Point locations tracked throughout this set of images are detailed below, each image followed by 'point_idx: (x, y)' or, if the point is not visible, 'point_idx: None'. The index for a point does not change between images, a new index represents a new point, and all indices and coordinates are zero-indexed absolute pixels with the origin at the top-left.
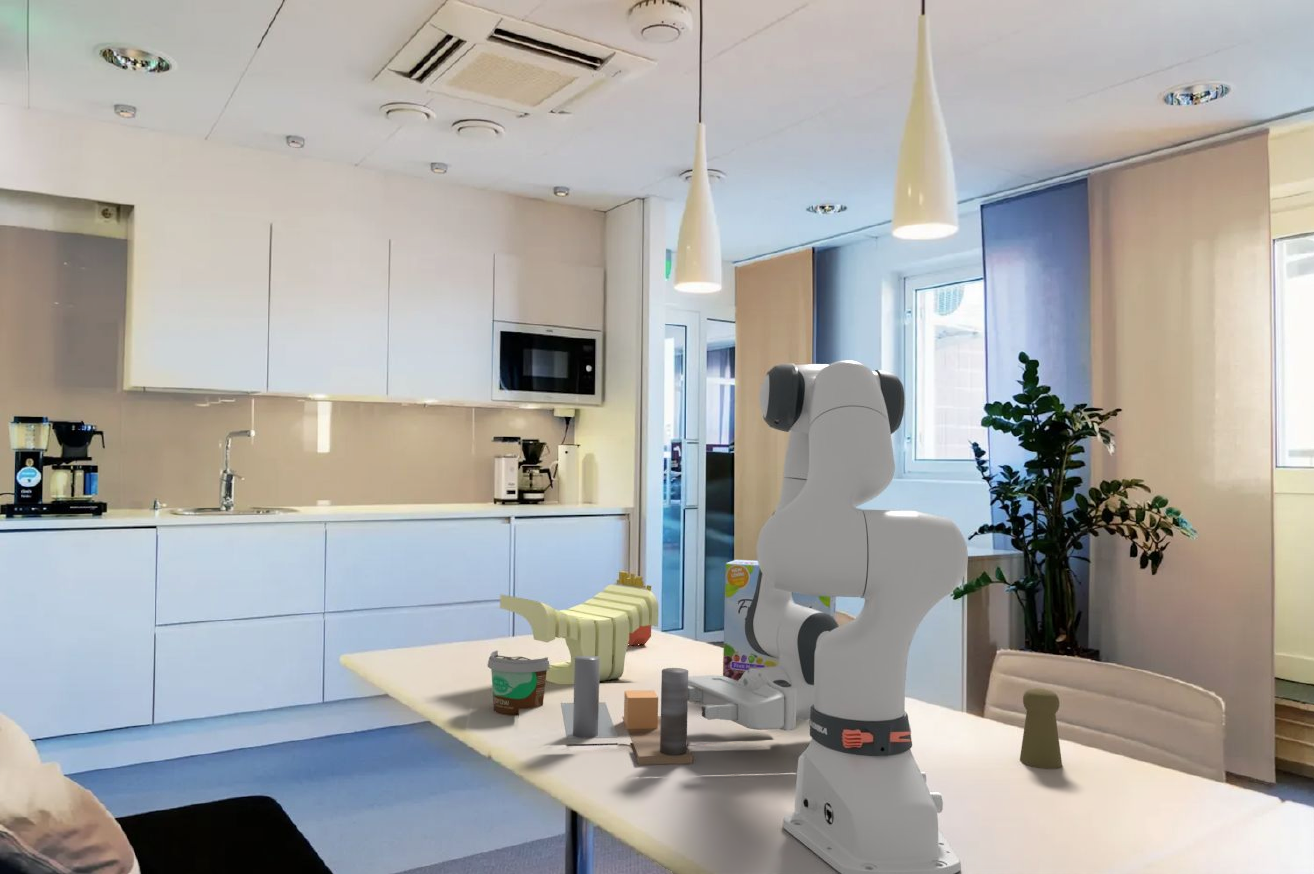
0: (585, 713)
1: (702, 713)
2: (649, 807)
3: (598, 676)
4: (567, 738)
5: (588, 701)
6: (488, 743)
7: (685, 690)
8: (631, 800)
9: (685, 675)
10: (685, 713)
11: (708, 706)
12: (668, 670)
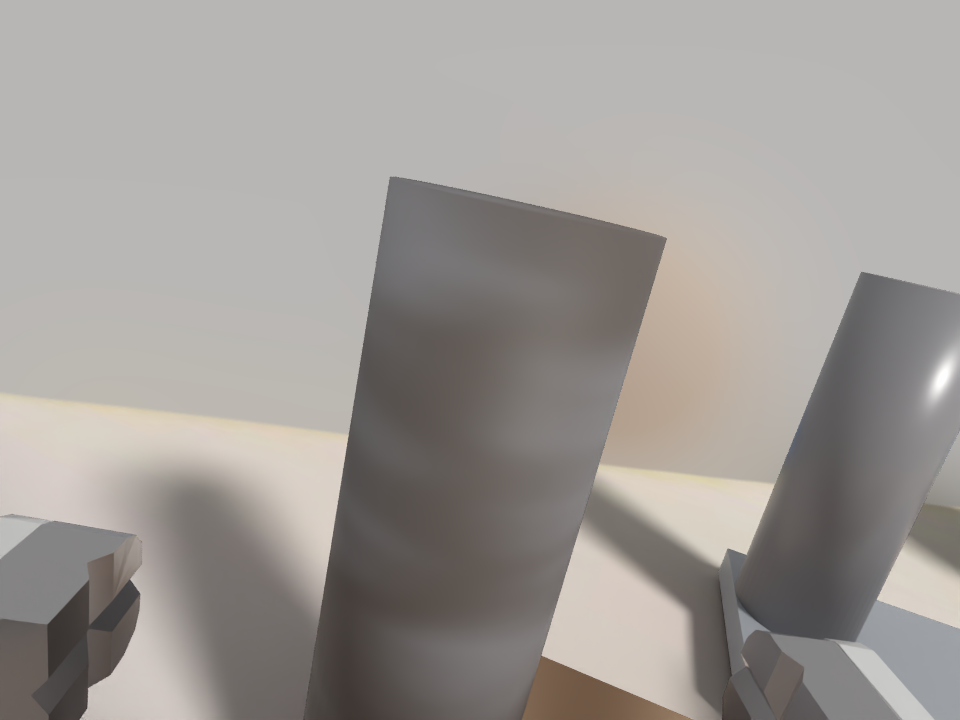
0: (770, 500)
1: (121, 593)
2: (28, 459)
3: (886, 379)
4: (727, 550)
5: (790, 457)
6: (754, 482)
7: (365, 370)
8: (128, 462)
9: (393, 213)
10: (337, 578)
11: (29, 535)
12: (554, 211)
